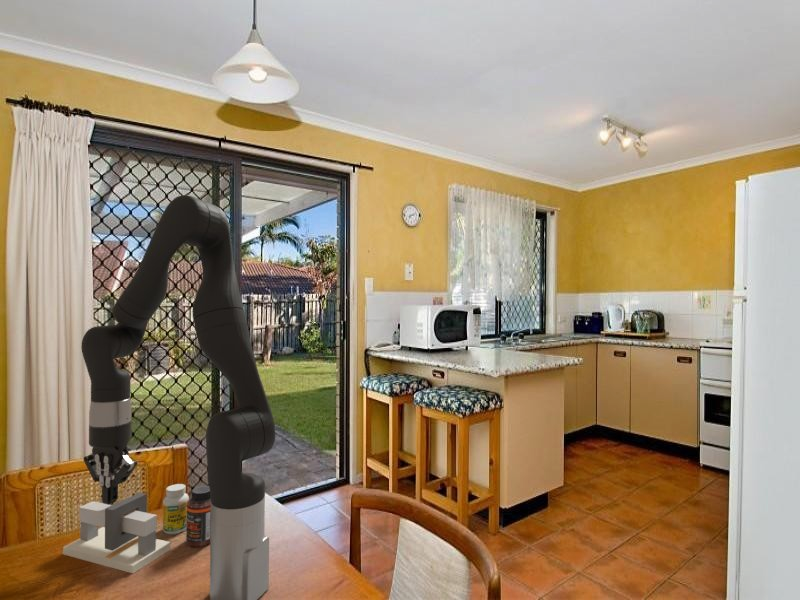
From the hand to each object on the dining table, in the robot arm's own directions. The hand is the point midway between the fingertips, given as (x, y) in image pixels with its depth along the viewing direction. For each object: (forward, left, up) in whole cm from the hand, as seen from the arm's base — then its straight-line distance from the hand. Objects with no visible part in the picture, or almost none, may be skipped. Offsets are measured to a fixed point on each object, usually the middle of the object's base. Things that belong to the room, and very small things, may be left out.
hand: (109, 502), depth 97 cm
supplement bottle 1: (-6, -11, -10) cm, 16 cm away
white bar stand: (-2, 0, -10) cm, 10 cm away
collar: (-5, 0, -7) cm, 8 cm away
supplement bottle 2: (-15, -9, -10) cm, 21 cm away
